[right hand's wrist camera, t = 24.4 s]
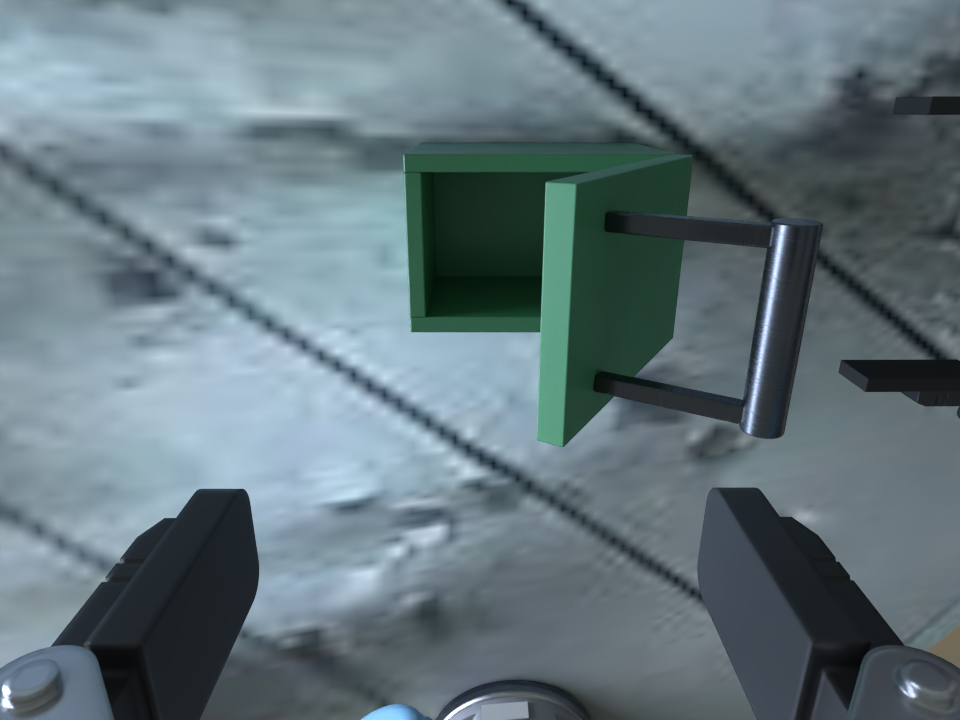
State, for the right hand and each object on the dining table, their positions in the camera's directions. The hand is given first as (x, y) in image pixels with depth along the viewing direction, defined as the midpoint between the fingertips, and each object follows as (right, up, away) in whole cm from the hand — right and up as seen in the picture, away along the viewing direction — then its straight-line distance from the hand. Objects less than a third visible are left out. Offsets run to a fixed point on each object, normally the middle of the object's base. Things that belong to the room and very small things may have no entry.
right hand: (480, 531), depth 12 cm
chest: (+3, +13, +32) cm, 35 cm away
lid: (+6, +7, +17) cm, 19 cm away
